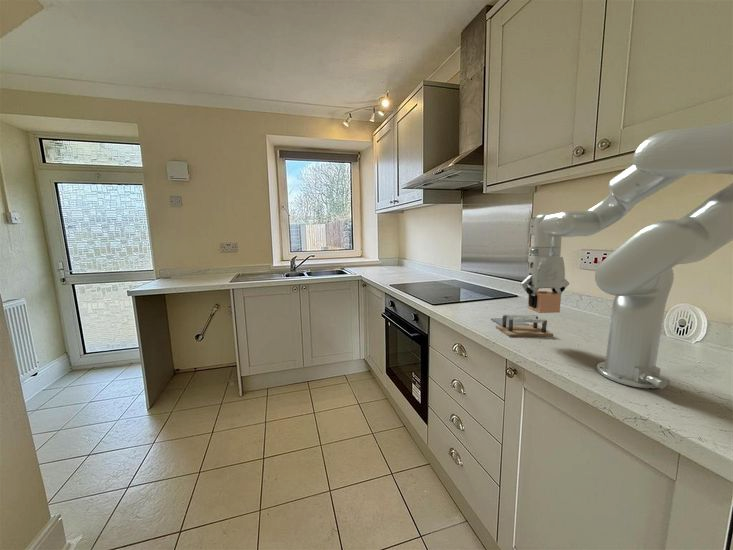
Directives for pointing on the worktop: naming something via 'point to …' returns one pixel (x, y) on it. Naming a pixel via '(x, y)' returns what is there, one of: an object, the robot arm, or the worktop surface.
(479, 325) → the worktop surface
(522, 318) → the grey small table
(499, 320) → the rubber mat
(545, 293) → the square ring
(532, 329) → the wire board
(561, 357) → the worktop surface
